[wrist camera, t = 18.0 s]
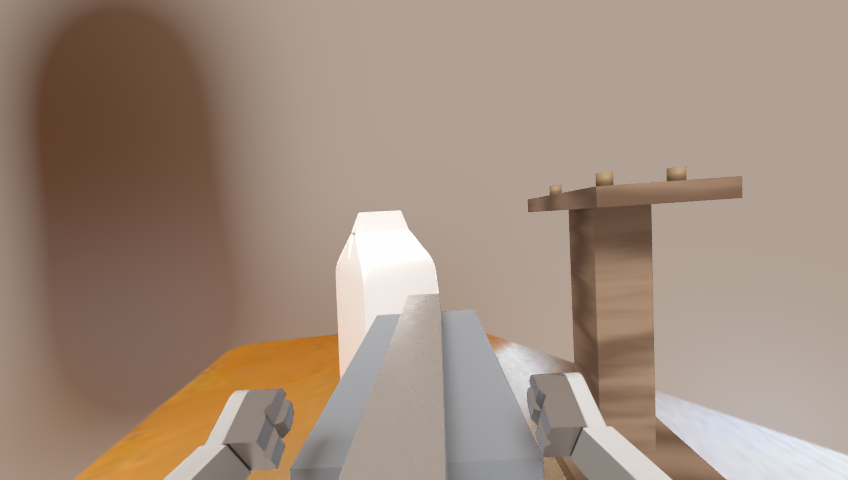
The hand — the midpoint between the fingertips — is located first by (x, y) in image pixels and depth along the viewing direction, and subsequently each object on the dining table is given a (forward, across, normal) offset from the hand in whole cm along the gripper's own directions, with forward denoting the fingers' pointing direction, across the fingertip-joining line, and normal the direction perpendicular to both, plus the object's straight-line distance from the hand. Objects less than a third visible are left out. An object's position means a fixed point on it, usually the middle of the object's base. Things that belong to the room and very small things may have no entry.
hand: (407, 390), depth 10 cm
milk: (+20, +6, +34) cm, 39 cm away
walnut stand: (+8, -18, +27) cm, 33 cm away
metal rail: (+5, 0, +8) cm, 9 cm away
